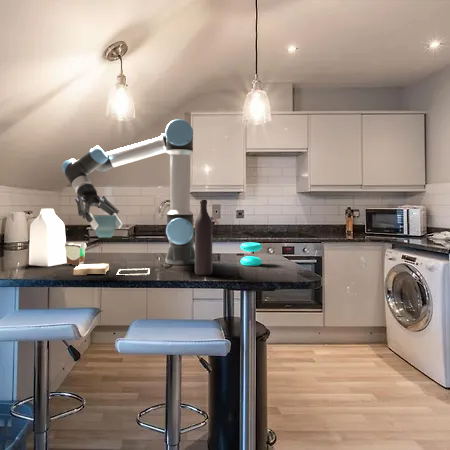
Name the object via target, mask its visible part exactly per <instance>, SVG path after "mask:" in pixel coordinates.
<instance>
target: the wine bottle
mask: <svg viewBox="0 0 450 450" xmlns="http://www.w3.org/2000/svg"><path fill="white" fill-rule="evenodd" d="M199 205H200V209H199V213H198V215H197V217H196V220H195V221H194V250H195V263H194V274H195V275H197V276H210V275H212V274H213V223H212V219H211V217H210V214H209V212H208V209H207V208H208V207H207V206H208V200H207V199H200V200H199Z"/></svg>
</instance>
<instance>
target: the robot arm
mask: <svg viewBox="0 0 450 450" xmlns="http://www.w3.org/2000/svg"><path fill="white" fill-rule="evenodd" d="M164 132H165V133H161V135H160V136H158V137H155V138H152V139H147V140H144V141H141V142H138V143H134V144H131V145H127V146H124V147H119V148H116V149H113V150H110V151H106V152H105V151H104V149H102V147H100V146H99V145H96V146H94V147H93V148H90V150H88V152H86V153H85V154H84V155H82V156H81V157H79V158H78V159H77V160H76V159H75V158H70V159H68V160H64V162H63V163H62V165H61V170H62V172H63V174H64V176H65V177H66V179H67V181H68V182H69V184H70V186H72V188H73V190H74V192H75V193H76V195H77V196H76V198H75V199H74V200H75V203H76V205H77V213H78V216H79V217H82V219H86V221H87V223H89V225H90V226H91V227H92V229H93V230H94V231H95V230H96V228H97V227H98V223H97V222H96V220H95V219H94V217H93V215H94V214H92V212H90V210H91V209H90V208H91V207H96V208H98V209H101V210H102V211H104V213H107V215H115V216H117V217H116V226H115V227H117V229H121V227H122V226H123V225H124V224H123V221H122V220H121V218H120V217H119V215H118V214H119V213H120V210H119V209H118V208H117V207H116V206H115V205H114V204H112V202H110V201H109V200H108V199H107V197H106V196H104V195H103V196H102V197H100V196H99V195H98V192H97V189H96V187H95V186H94V184H93V183H92V181H91V180H90V178H89V177H88V175H90V174H91V173H92V172H94V171H95V170H96V171H97V172H106V171H107V172H108V170H110V169H112V168H116V167H120V166H124V165H127V164H129V163H133V162H137V161H141V160H144V159H148V158H151V157H155V156H157V155H161V154H166V155H167V154H168V155H169V193H170V194H169V195H170V198H169V199H170V200H169V201H170V202H169V206H170V207H169V208H170V209H169V211H167V214H166V228H165V235H166V237H167V239H168V242H169V246H168V250H167V253H166V257H165V264H168V265H178V266H179V265H182V266H183V265H195V245H194V234H195V229H194V224H195V220H194V213H193V212H192V211H191V209H190V208H191V207H190V205H191V204H190V200H191V199H190V196H191V195H190V194H191V193H190V191H191V190H190V189H191V188H190V187H191V186H190V185H191V184H190V179H191V178H190V176H191V175H190V174H191V173H190V164H191V163H190V161H191V160H190V157H191V155H192V153H193V152H194V129H193V127H192V125H191V124H190V123H189V122H188V121H187V120H184V119H179V118H177V119H173V120H171V121H170V122H169V123H168V124H167V125H166V127H165V131H164ZM84 203H85V205H84Z"/></svg>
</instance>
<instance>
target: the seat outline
mask: <svg viewBox="0 0 450 450" xmlns="http://www.w3.org/2000/svg"><path fill="white" fill-rule="evenodd" d="M121 271H147V273H124V274H120V273H121ZM150 271H151V268H127V269H126V268H125V269H124V268H122V269H121V268H120V269H118V271H117V273H116V274H115V275H125V276H149V275H150ZM119 272H120V273H119Z"/></svg>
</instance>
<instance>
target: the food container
mask: <svg viewBox="0 0 450 450" xmlns="http://www.w3.org/2000/svg"><path fill="white" fill-rule="evenodd" d="M64 247H65V250H66V262H67V263H66V265H69V264H72V265H71V266H77V265H80V264H85V255H86V249H87V244H86V242H83V241H82V242H80V241H79V242H77V241H76V242H72V241H71V242H66V243H65V246H64Z"/></svg>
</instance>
